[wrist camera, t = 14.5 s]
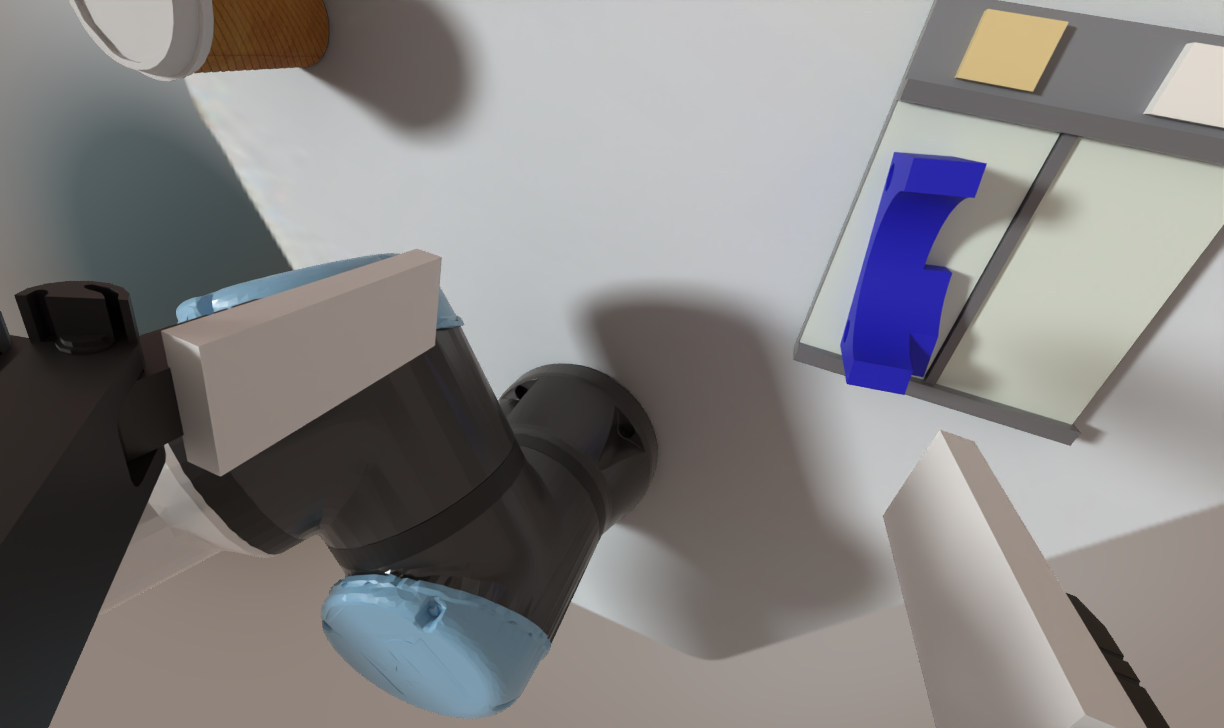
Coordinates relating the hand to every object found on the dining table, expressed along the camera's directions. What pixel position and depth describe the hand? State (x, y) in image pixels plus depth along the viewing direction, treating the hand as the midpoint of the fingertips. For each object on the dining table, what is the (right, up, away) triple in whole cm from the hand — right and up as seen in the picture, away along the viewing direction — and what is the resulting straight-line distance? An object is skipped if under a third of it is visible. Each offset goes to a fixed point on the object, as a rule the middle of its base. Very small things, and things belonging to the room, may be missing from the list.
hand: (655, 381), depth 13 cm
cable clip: (+17, +7, +18) cm, 26 cm away
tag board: (+22, +8, +17) cm, 29 cm away
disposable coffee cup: (-25, +27, +26) cm, 45 cm away
